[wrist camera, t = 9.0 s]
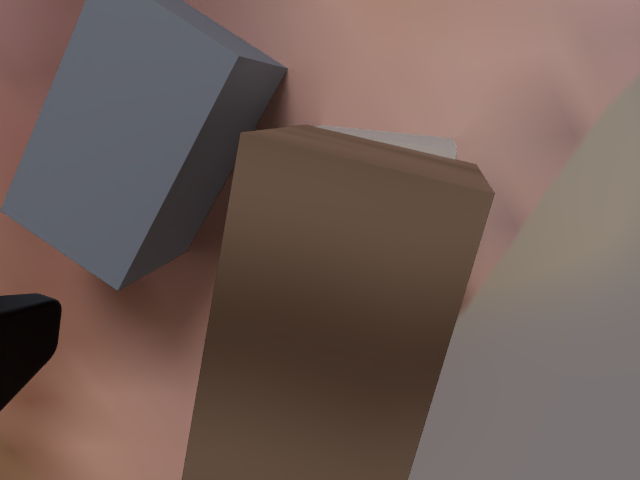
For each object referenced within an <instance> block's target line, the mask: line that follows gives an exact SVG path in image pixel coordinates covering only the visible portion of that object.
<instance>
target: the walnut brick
mask: <svg viewBox="0 0 640 480" xmlns="http://www.w3.org/2000/svg"><path fill="white" fill-rule="evenodd" d="M494 195H495V193H494V191H493V190H492V188H491V187H490V185H489V184H488V182H487V180H486V179H485V177H484V176H483V174H482V173H481V171H480V169H479V168H478V166H477V165H476V164H473V163H468V162H464V161H460V160H455V159H451V158H447V157H443V156H438V155H434V154H430V153H425V152H421V151H417V150H413V149H408V148H404V147H400V146H395V145H391V144H387V143H383V142H378V141H374V140H370V139H365V138H361V137H357V136H353V135H348V134H344V133H340V132H335V131H331V130H327V129H323V128H318V127H314V126H310V125H299V126H291V127H282V128H274V129H265V130H257V131H248V132H241V133H240V139H239V145H238V150H237V156H236V162H235V168H234V174H233V180H232V186H231V192H230V198H229V204H228V210H227V215H226V221H225V227H224V233H223V239H222V245H221V251H220V257H219V263H218V269H217V274H216V280H215V286H214V292H213V298H212V304H211V310H210V316H209V322H208V328H207V334H206V339H205V345H204V351H203V357H202V363H201V369H200V375H199V381H198V387H197V393H196V399H195V404H194V410H193V416H192V422H191V428H190V434H189V440H188V446H187V452H186V458H185V463H184V469H183V475H182V480H408V477H409V474H410V471H411V467H412V464H413V461H414V457H415V454H416V451H417V448H418V444H419V441H420V438H421V435H422V431H423V428H424V425H425V421H426V418H427V415H428V411H429V408H430V404H431V402H432V398H433V395H434V392H435V389H436V385H437V382H438V379H439V375H440V372H441V369H442V366H443V362H444V359H445V356H446V352H447V349H448V346H449V342H450V339H451V336H452V333H453V329H454V326H455V323H456V319H457V316H458V313H459V310H460V306H461V303H462V300H463V296H464V293H465V290H466V287H467V283H468V280H469V277H470V273H471V270H472V267H473V264H474V260H475V257H476V254H477V250H478V247H479V244H480V241H481V237H482V234H483V231H484V227H485V224H486V221H487V218H488V214H489V211H490V208H491V204H492V201H493V198H494Z"/></svg>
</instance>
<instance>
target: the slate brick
mask: <svg viewBox="0 0 640 480" xmlns="http://www.w3.org/2000/svg"><path fill="white" fill-rule="evenodd" d="M287 69H288V68H286V67H285V66H283V65H282V64H280V63H278V62H277V61H275V60H274V59H272V58H271V57H269V56H268V55H266V54H264V53H263V52H261V51H260V50H258V49H257V48H255V47H254V46H252V45H250V44H249V43H247V42H246V41H244V40H243V39H241V38H240V37H238V36H237V35H235V34H233V33H232V32H230V31H229V30H227V29H226V28H224V27H223V26H221V25H219V24H218V23H216V22H215V21H213V20H212V19H210V18H209V17H207V16H205V15H204V14H202V13H201V12H199V11H198V10H196V9H195V8H193V7H192V6H190V5H188V4H187V3H185V2H184V1H182V0H86V2H85V4H84V7H83V9H82V12H81V14H80V17H79V19H78V22H77V24H76V26H75V29H74V31H73V34H72V36H71V39H70V41H69V44H68V46H67V49H66V51H65V53H64V56H63V58H62V61H61V63H60V66H59V68H58V71H57V73H56V75H55V78H54V80H53V83H52V85H51V88H50V90H49V93H48V95H47V98H46V100H45V102H44V105H43V107H42V110H41V112H40V115H39V117H38V120H37V122H36V124H35V127H34V129H33V132H32V134H31V137H30V139H29V142H28V144H27V147H26V149H25V151H24V154H23V156H22V159H21V161H20V164H19V166H18V169H17V171H16V173H15V176H14V178H13V181H12V183H11V186H10V188H9V191H8V193H7V196H6V198H5V200H4V203H3V205H2V208H1V210H0V211H1V212H3V213H4V214H6V215H7V216H8V217H10V218H11V219H13V220H14V221H16V222H17V223H19V224H20V225H22V226H23V227H25V228H26V229H28V230H29V231H30V232H32V233H33V234H35V235H36V236H38V237H39V238H41V239H42V240H44V241H45V242H47V243H48V244H50V245H51V246H52V247H54V248H55V249H57V250H58V251H60V252H61V253H63V254H64V255H66V256H67V257H69V258H70V259H72V260H73V261H74V262H76V263H77V264H79V265H80V266H82V267H83V268H85V269H86V270H88V271H89V272H91V273H92V274H94V275H95V276H96V277H98V278H99V279H101V280H102V281H104V282H105V283H107V284H108V285H110V286H111V287H113V288H114V289H116V290H117V291H118V290H120V289H122V288H124V287H125V286H127V285H129V284H131V283H132V282H134V281H136V280H138V279H139V278H141V277H143V276H145V275H147V274H148V273H150V272H152V271H154V270H155V269H157V268H159V267H161V266H162V265H164V264H166V263H168V262H169V261H171V260H173V259H175V258H177V257H178V256H180V255H182V254H184V253H185V252H187V250H188V249H189V247H190V245H191V243H192V241H193V240H194V238H195V236H196V234H197V232H198V230H199V229H200V227H201V225H202V223H203V221H204V220H205V218H206V216H207V214H208V212H209V211H210V209H211V207H212V205H213V203H214V201H215V200H216V198H217V196H218V194H219V192H220V191H221V189H222V187H223V185H224V183H225V181H226V180H227V178H228V176H229V174H230V172H231V171H232V169H233V167H234V165H235V162H236V156H237V150H238V145H239V139H240V133H241V132H248V131H254V129H255V127H256V125H257V123H258V122H259V120H260V118H261V116H262V114H263V112H264V111H265V109H266V107H267V105H268V103H269V102H270V100H271V98H272V96H273V94H274V92H275V91H276V89H277V87H278V85H279V83H280V82H281V80H282V78H283V76H284V74H285V72H286V71H287Z"/></svg>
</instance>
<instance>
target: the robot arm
mask: <svg viewBox="0 0 640 480" xmlns="http://www.w3.org/2000/svg"><path fill="white" fill-rule="evenodd" d="M61 312H62V308H61V304H60V303H59V301H58V300H56V299H53V298H50V297H48V296H45V295H42V294H36V293H34V294H20V295H5V296H0V411H1V410H2V409H3V408H4V407H5V406H6V405H7V404H8V403H9V402H10V401H11V400H12V398H13V397H14V396H15V395H16V394H17V393H18V392H19V391H20V390H21V389H22V388H23V387H24V386H25V385H26V384H27V383H28V382H29V381H30V380H31V379H32V377H33V376H34V375H35V374H36V373H37V372H38V371H39V370H40V369H41V368H42V367H43V366H44V365H45V364H46V363H47V362H48V361H49V360H50V358H51V357H52V356H53V354H54V352H55V350H56V348H57V344H58V338H59V329H60V320H61Z"/></svg>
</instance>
